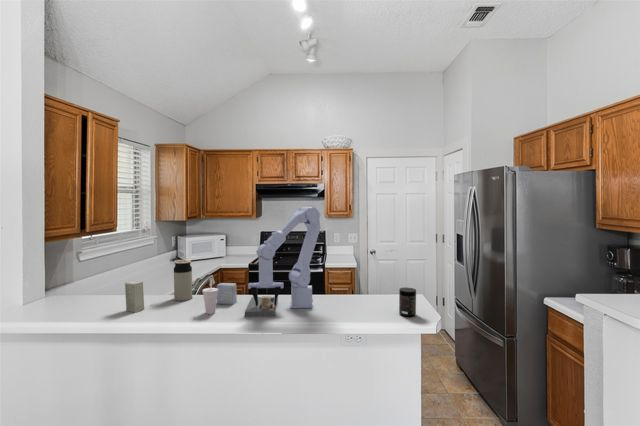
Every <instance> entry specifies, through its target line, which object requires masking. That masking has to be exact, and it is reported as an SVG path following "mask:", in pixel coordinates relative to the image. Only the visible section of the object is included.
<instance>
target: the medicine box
mask: <svg viewBox="0 0 640 426" xmlns="http://www.w3.org/2000/svg"><path fill="white" fill-rule="evenodd" d="M216 288H218V292H217V302H216V305H217V304H218V305H235V304H236V303H237V302H238V300H237V299H238V298H237V297H238V296H237V294H238V293H237V283H235V282H234V283H233V282H220V283H218V284H217V285H216Z"/></svg>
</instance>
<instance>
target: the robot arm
mask: <svg viewBox="0 0 640 426" xmlns="http://www.w3.org/2000/svg"><path fill="white" fill-rule="evenodd" d="M320 217H321V212H320V211H319V209H318V208H317V207H315V206H300V207H299V208H297V210H296V211H294V213H293V215H292V216H291V217H290V218H289V220H288V221H287V222H286V223H285V224H284V225H283V227H281V229H280V230H276V231H275V230H274V231H272V232H271V235H270V236H269V237H268V239H267V240H264V241H263V243H262V244H260V245H259V246H258V247H257V249H256V255H257V256H258V282H249V283H248V285H247V288H248V289H249V290H250V293H251V294H252V297H254V300H255V303H256V306H258V297H259V296H258V295H259V293H258V292H259V290H258V289H274V297H275V301H274V306H276V302H277V298H278V299H279V295H280V292H281V290H282V289H284V282H279V281H278V282H276V281H274V279H273V278H274V275H273V273H274V272H273V271H274V270H273V269H274V268H273V267H274V266H273V265H274V263H273V260H274V259H273V258H274V257H275V255H276V251H277V250H278V249H279V248H280V247H281V246H282V244H283V243H285V241H287V237H286V236H288V235H289V234H290V233H291V231H292V230H294V229H295V228H296V227H297V226H298V225H299V224H302V223H304V225H305V227H306V229H307V230H306V233H305V236H304V240H303V243H302V245H301V250H300V252H299V256H298V259H297V262H296V263H295V264H294V265H293V267H292V269H291V270H290V271H289V273H288V279H289V281H290V284H291V286H290V289H291V290H290V292H291V294H290V295H291V296H290V297H291V299H290V306H289V307H290V309H306V308H307V309H308V308H310V309H311V308H313V303H314V299H313V285H309V284H310V283H311V282H310V281H311V272H312V270H311V268H310V265H311V261H312V257H313V254H314V250H315V247H316V245H317V240H318V237H319V233H320V231H321V222H320V221H321V220H320Z"/></svg>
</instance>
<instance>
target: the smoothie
mask: <svg viewBox="0 0 640 426" xmlns="http://www.w3.org/2000/svg"><path fill="white" fill-rule="evenodd" d="M209 280H210V282H209V283H210V287H207V288H203V289H202V295H203V300H204V308H205V309H204V310H205V314H207V315H212V314H215V313H216V310H217V292H218V288H217V287H213V286H212V285H213V283H212V282H213V279H212V278H210V279H209Z"/></svg>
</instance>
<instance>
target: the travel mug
mask: <svg viewBox="0 0 640 426" xmlns="http://www.w3.org/2000/svg"><path fill="white" fill-rule="evenodd" d="M173 262H174V267H173V294H174V295H173V297H174V300H175V301H178V302H183V301H185V302H186V301H189V300H191V299H192V298H193V271H192V270H193V267H192V265H191V262H192V260H191V259H178V260H174V261H173Z"/></svg>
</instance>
